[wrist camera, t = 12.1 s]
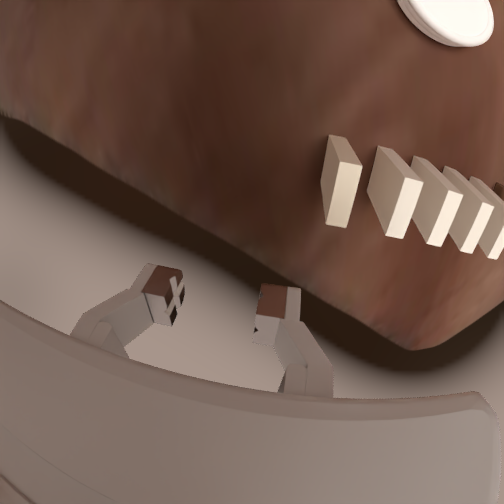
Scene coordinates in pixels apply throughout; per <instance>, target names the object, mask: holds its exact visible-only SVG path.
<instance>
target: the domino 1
mask: <svg viewBox="0 0 504 504" xmlns="http://www.w3.org/2000/svg"><path fill="white" fill-rule="evenodd" d="M362 167H363V166H362V164H361V162H360V161H359V159H358V157H357V156H356V154H355V152H354V151H353V149H352V147H351V146H350V144H349V143H348V141H347V139H346V138H344V137H340V136H335V135H329V137H328V143H327V148H326V154H325V160H324V165H323V171H322V176H321V181H320V183H321V190H322V198H323V205H324V213H325V222H326V224H327V225H333V226H339V227H345V228H346V227H347V223H348V220H349V216H350V213H351V209H352V206H353V202H354V198H355V194H356V191H357V187H358V183H359V179H360V175H361V171H362Z"/></svg>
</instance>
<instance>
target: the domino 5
mask: <svg viewBox="0 0 504 504" xmlns="http://www.w3.org/2000/svg"><path fill="white" fill-rule="evenodd" d="M469 182H470V183H471V184H472V185H473V186H474V187H475V188H476V189H477V190H478V191H479V192H480V193H481V194H482V195H483V196H484V197H485V198H486V199H487V200H488V201H489V202H490V203H491V204H492V205H493V206H494V209H493V211H492V213H491V215H490V218H489V220H488V222H487V224H486V226H485V229H484V231H483V233H482V235H481V237H480V239H479V241H478V244H479V245H480V247H481V248H482V250H483V251H484V253H485V254H486V256H487V257H488V258H492V259H496V260H497V258H498V257H499V255H500V253H501V251H502V249H503V248H504V201H503V200H502V199H501V198H500V197H499V196H498V195H497V194H496V193H494V192H493V191H492V190H491V189H490V188H489V187H488V186H487V185H486V184H485V183H484V182H482V181H481V180H480V179H478V178H475V177H473V176H471V177H470V180H469Z"/></svg>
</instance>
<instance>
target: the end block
mask: <svg viewBox="0 0 504 504" xmlns="http://www.w3.org/2000/svg"><path fill="white" fill-rule="evenodd" d="M493 192H494V193H496V194H497V195H498V196H499V197H500V198H501V199H502V200H503V201H504V186H503V185H501V184H499V183H496V185H495V188H494V191H493Z"/></svg>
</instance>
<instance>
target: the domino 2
mask: <svg viewBox="0 0 504 504" xmlns="http://www.w3.org/2000/svg"><path fill="white" fill-rule="evenodd" d="M423 183H424V182H423V181H422V180H421V179H420V178H419V177H418V175H417V174H416V173H415V172H414V171H413V170H412V169H411V168H410V167H409V166H408V165H407V164H406V162H405V161H404V160H403V159H402V158H401V157H400V156H399V155H398V154H397V153H396V152H395V151H394V150H393V149H389V148H385V147H381V146H378V148H377V152H376V156H375V160H374V164H373V169H372V172H371V176H370V180H369V184H368V188H367V193H368V196H369V198H370V200H371V202H372V205H373V207H374V209H375V211H376V214H377V216H378V219H379V221H380V223H381V226H382V228H383V231H384V233H385V236H391V237H396V238H401V239H403V237H404V234H405V232H406V230H407V227H408V225H409V222H410V219H411V217H412V214H413V211H414V209H415V206H416V203H417V200H418V198H419V195H420V192H421V189H422V186H423Z"/></svg>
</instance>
